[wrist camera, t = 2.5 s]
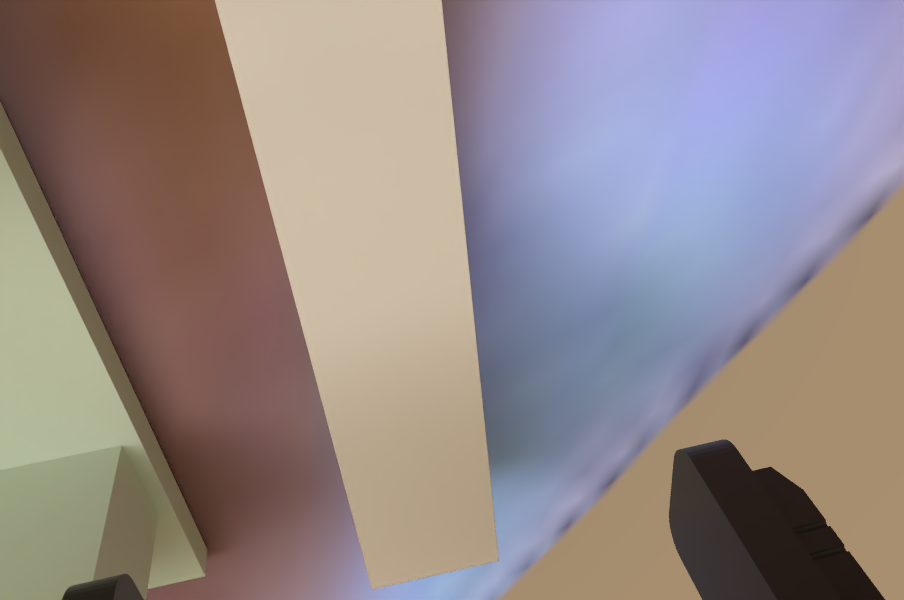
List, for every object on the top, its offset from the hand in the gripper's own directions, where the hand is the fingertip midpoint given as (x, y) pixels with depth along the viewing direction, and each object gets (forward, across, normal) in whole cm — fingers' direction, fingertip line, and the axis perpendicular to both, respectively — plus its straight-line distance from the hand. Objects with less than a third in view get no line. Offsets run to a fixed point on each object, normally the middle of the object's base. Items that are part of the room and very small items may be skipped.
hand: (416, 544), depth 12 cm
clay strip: (+10, 0, 0) cm, 10 cm away
